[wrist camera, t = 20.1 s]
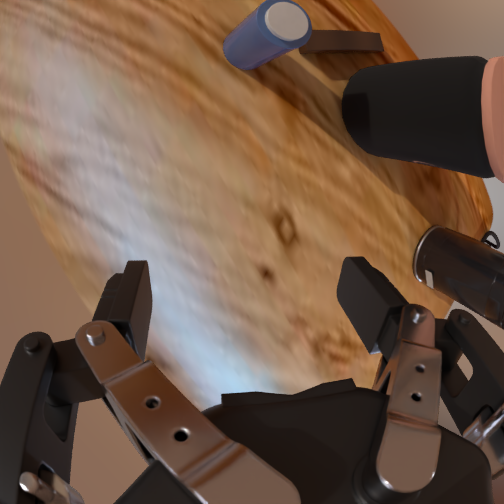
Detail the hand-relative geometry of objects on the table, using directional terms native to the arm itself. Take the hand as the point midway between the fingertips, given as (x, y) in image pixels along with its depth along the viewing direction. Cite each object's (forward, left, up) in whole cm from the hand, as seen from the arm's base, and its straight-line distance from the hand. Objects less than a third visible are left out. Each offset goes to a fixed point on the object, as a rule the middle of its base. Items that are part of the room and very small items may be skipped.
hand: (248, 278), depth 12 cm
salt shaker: (-9, -12, -17) cm, 23 cm away
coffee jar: (-23, -4, -17) cm, 29 cm away
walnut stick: (-21, -12, -17) cm, 29 cm away
